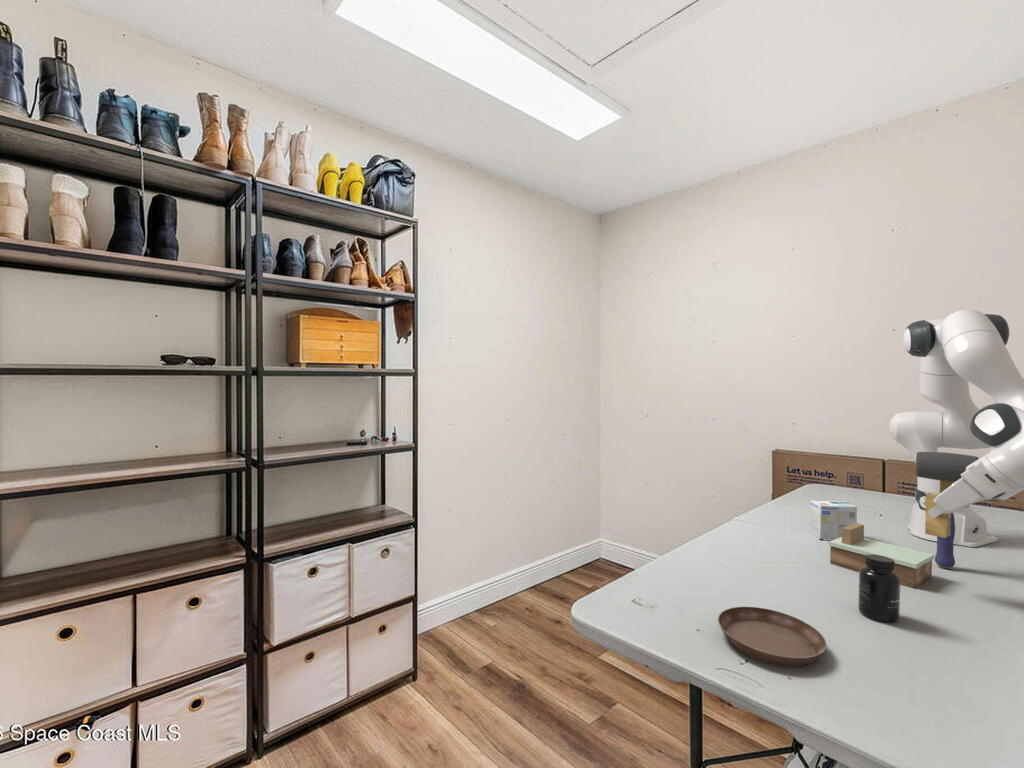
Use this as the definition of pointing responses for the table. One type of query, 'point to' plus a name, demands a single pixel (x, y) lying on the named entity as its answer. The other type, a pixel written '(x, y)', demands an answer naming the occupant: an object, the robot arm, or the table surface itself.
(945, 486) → the rubber mallet
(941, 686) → the table surface
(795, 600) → the table surface
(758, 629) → the plant saucer
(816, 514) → the light bulb box
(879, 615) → the supplement bottle
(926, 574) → the wooden box base
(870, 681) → the table surface
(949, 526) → the light wooden block
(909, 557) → the lid
